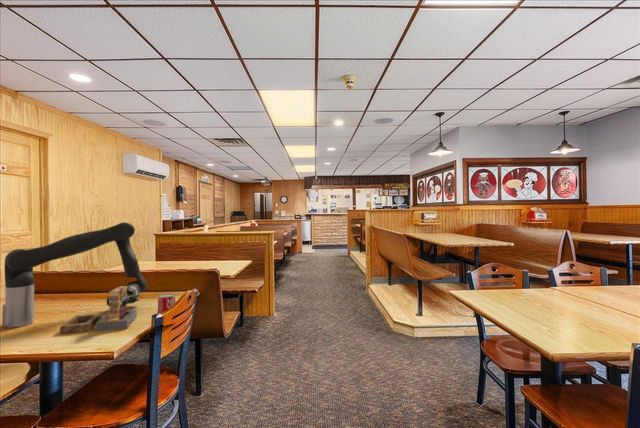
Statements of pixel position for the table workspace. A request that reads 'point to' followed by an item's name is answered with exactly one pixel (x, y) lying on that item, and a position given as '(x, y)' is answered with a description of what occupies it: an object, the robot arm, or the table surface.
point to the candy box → (117, 302)
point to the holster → (75, 327)
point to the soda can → (165, 302)
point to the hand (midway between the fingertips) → (116, 304)
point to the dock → (116, 321)
